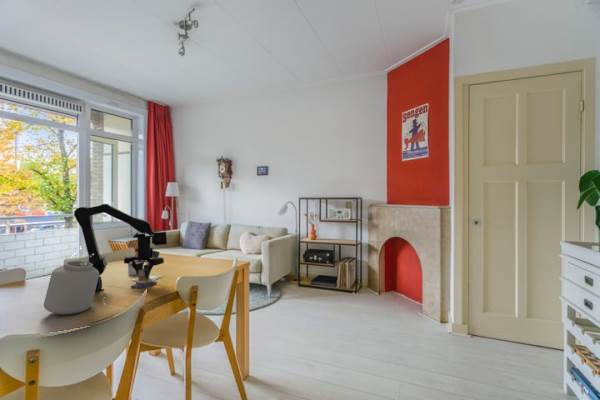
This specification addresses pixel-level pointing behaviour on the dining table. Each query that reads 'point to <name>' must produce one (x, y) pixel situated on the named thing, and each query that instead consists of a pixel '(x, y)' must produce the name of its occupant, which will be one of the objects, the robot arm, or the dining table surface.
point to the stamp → (142, 278)
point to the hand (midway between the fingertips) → (143, 277)
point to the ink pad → (140, 286)
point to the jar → (71, 288)
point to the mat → (153, 277)
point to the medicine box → (131, 269)
